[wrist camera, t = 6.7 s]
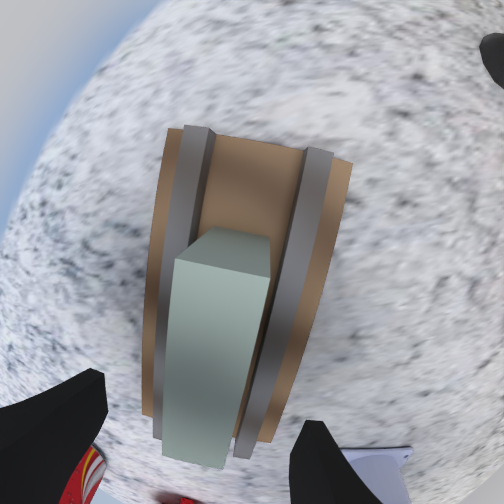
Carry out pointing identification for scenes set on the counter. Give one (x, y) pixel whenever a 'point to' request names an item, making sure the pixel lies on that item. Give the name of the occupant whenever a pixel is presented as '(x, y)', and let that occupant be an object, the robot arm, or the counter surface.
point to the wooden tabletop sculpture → (494, 56)
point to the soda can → (84, 479)
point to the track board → (252, 221)
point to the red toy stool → (186, 501)
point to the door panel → (211, 341)
